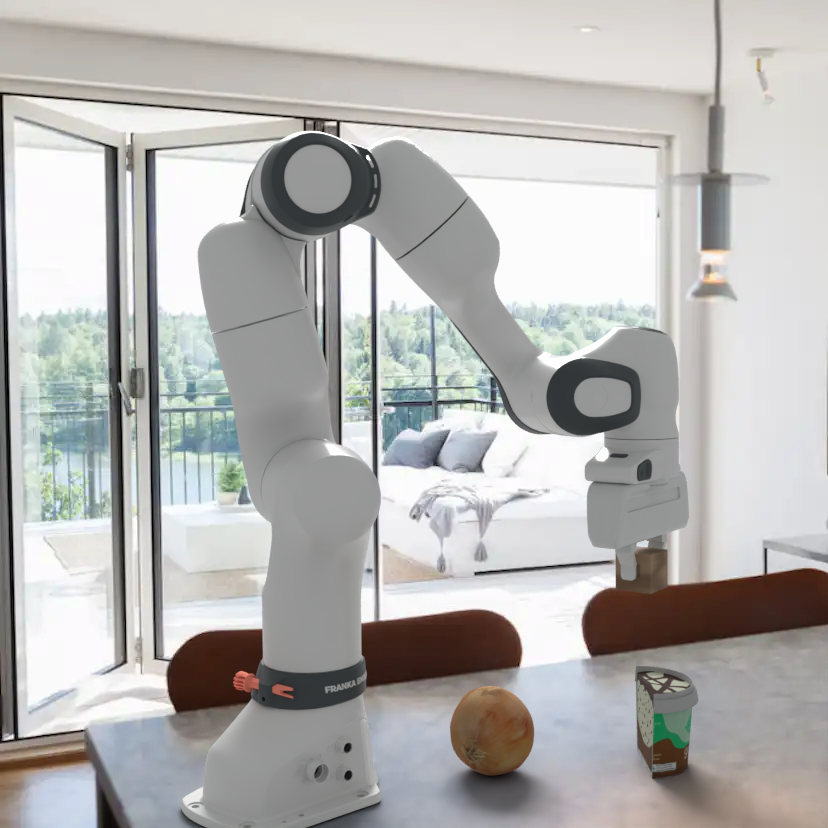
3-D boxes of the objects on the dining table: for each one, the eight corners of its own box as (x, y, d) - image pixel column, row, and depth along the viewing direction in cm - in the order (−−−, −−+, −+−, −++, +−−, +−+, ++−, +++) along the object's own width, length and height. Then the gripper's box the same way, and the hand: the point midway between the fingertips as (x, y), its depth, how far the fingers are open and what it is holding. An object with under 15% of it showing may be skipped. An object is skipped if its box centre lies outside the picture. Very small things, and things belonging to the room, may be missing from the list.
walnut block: (650, 593, 130) (650, 555, 129) (615, 589, 132) (615, 551, 132) (667, 587, 133) (667, 549, 133) (633, 582, 136) (633, 545, 136)
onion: (544, 762, 129) (544, 679, 129) (520, 794, 120) (520, 704, 120) (467, 752, 133) (466, 670, 133) (438, 782, 124) (437, 695, 123)
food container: (709, 783, 123) (710, 695, 122) (654, 783, 123) (654, 695, 122) (684, 744, 135) (685, 664, 134) (634, 744, 135) (634, 664, 135)
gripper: (655, 452, 142) (655, 558, 143) (576, 467, 126) (577, 586, 127) (701, 455, 138) (701, 563, 139) (626, 470, 122) (627, 593, 123)
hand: (641, 574), depth 133 cm, fingers closed on walnut block, 5 cm apart
